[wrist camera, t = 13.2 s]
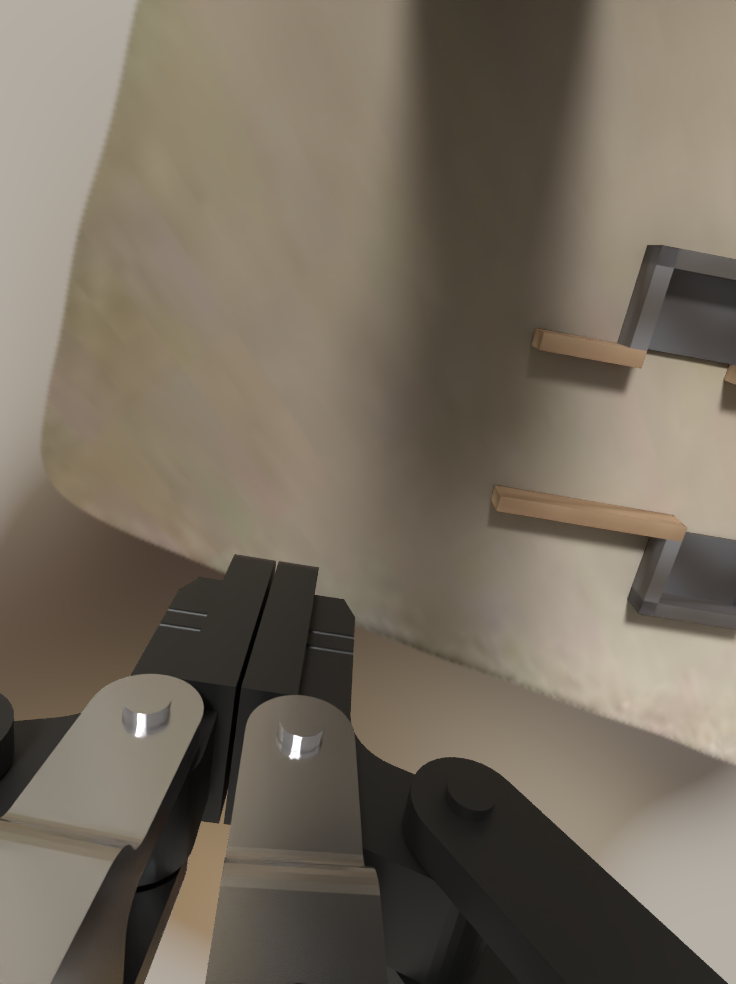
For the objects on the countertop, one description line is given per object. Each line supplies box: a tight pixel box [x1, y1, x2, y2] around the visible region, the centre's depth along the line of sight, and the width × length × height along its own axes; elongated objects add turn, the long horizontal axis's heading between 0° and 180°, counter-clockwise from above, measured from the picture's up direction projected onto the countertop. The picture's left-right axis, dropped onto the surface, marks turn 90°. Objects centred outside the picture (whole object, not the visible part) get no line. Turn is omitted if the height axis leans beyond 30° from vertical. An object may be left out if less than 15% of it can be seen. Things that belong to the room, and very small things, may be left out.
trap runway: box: [491, 245, 736, 630], centre depth 40 cm, size 22×26×2 cm
